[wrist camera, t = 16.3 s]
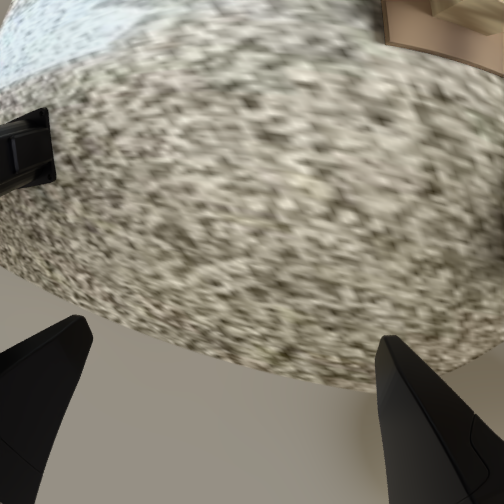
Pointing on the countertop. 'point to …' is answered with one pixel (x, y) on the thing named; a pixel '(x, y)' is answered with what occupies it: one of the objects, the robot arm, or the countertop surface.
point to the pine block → (472, 14)
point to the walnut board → (440, 36)
